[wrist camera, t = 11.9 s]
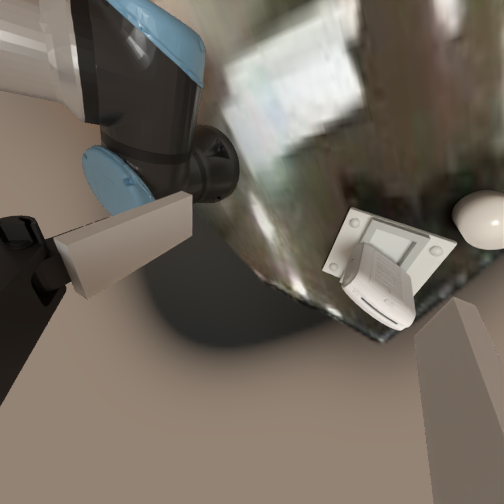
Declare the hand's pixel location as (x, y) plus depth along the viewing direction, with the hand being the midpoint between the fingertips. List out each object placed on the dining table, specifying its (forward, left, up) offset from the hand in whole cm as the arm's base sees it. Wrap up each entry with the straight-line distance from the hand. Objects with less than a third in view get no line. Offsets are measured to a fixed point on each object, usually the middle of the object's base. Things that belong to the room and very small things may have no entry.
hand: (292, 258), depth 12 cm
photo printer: (+10, -14, -29) cm, 34 cm away
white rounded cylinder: (+18, -2, -32) cm, 37 cm away
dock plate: (+10, -14, -32) cm, 36 cm away
